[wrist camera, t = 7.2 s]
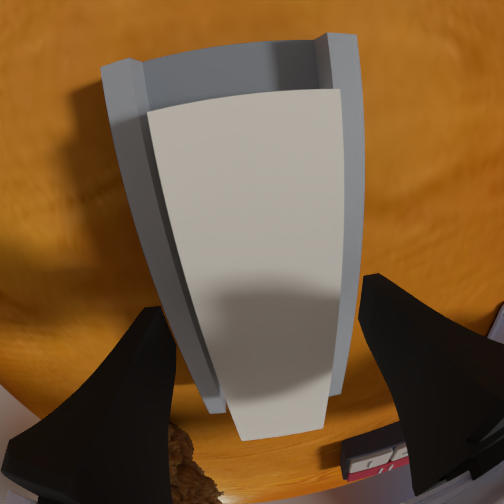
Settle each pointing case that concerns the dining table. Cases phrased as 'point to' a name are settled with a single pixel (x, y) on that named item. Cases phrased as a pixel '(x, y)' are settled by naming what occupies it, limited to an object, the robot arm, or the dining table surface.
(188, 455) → the stuffed squirrel
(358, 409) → the dining table surface
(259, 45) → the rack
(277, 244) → the white rectangular block
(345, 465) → the calculator
